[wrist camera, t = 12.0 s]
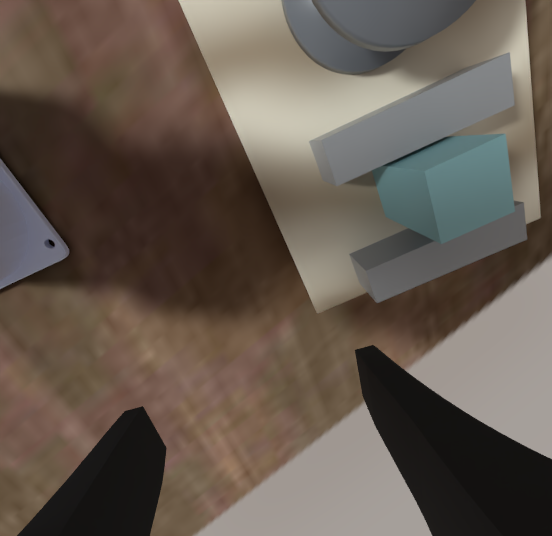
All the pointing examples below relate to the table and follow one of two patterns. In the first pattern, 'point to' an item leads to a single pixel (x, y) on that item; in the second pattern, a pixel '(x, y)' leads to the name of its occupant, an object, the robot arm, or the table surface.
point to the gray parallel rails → (403, 140)
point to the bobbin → (366, 29)
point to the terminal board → (347, 121)
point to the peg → (448, 186)
